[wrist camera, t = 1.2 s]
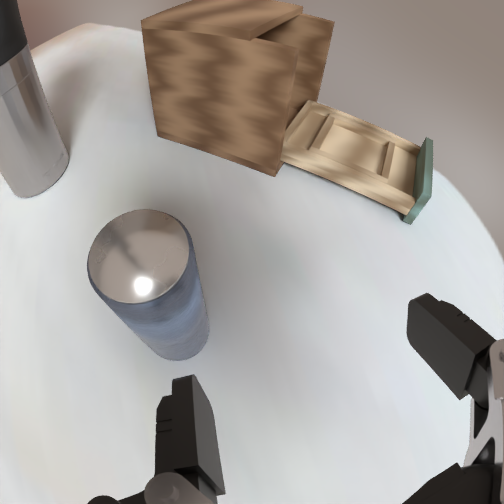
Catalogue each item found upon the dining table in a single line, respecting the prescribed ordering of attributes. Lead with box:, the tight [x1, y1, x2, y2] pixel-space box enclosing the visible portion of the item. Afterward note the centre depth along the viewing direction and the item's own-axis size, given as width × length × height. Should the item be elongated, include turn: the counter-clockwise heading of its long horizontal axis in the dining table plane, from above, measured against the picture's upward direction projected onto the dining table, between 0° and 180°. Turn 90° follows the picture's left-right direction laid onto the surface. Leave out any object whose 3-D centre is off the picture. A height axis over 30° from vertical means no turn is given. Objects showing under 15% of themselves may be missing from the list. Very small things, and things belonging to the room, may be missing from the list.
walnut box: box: [141, 0, 334, 177], centre depth 31 cm, size 16×14×16 cm
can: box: [87, 209, 209, 361], centre depth 19 cm, size 5×5×12 cm
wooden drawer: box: [280, 100, 433, 225], centre depth 33 cm, size 17×11×5 cm, turn 64°
